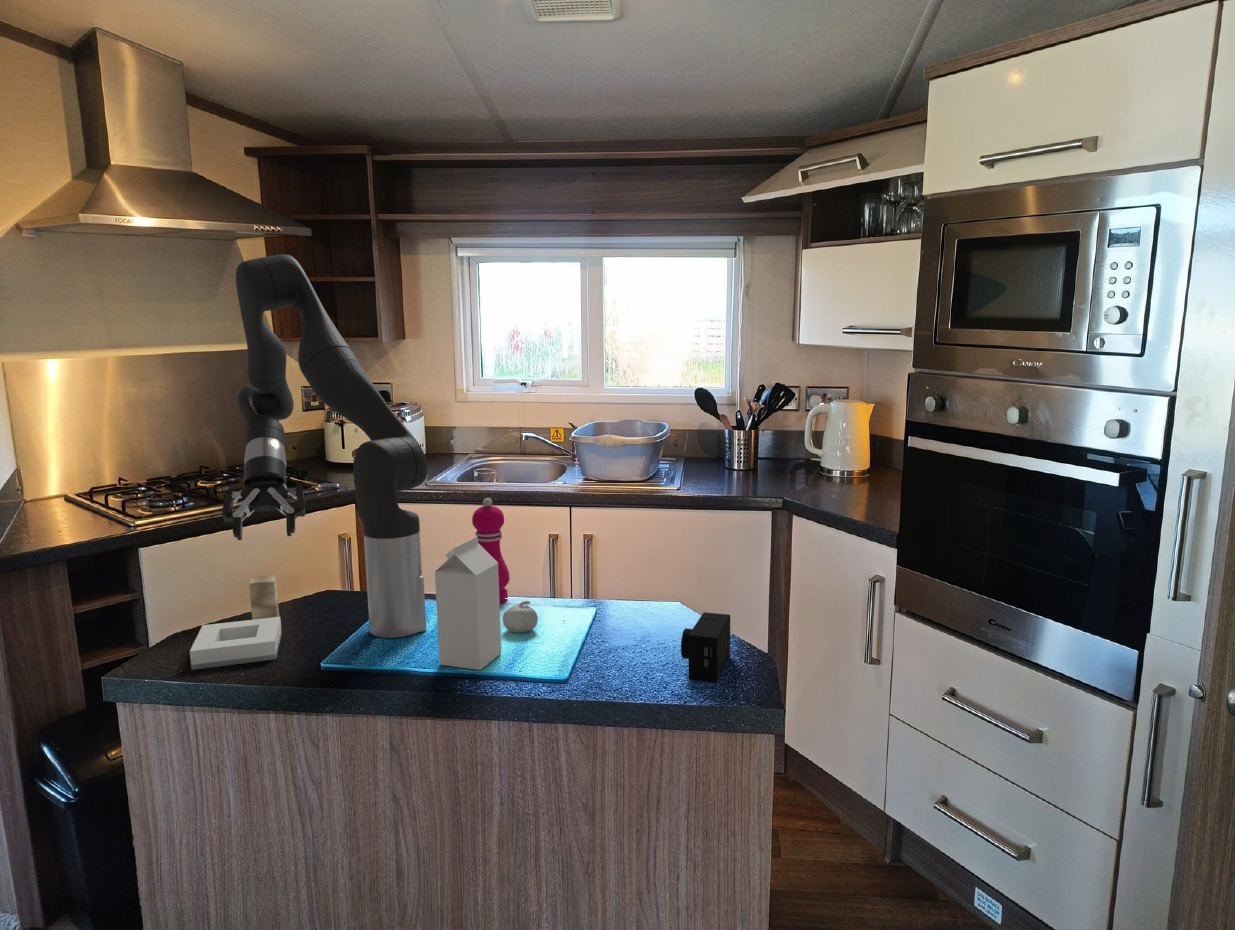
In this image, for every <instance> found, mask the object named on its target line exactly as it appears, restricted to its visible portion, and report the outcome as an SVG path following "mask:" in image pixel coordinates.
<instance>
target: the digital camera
mask: <svg viewBox="0 0 1235 930" xmlns="http://www.w3.org/2000/svg"><path fill="white" fill-rule="evenodd" d="M681 635H682V636H681V639H680V640H681V641H680V642H681V643H680V654H681V655H680V656H681V659H688V680H689V681H697V682H706V683H712V684H713V683H714V684H717V683H718V682H719V680H720V678H721V676H722V674H723V671H724V670H725V667H726V666H727V664H728V661H729V659H730V658H731V615H730V614H726V613H716V612H715V613H714V612H703V613H702V614H701V615H700V617H699V619H697V622H696V623H695V625H694V626H693V627H692V628H685V627H684V629H683V631H682V634H681Z"/></svg>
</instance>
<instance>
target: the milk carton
mask: <svg viewBox="0 0 1235 930" xmlns="http://www.w3.org/2000/svg"><path fill="white" fill-rule="evenodd" d="M445 556H446V557H447V560H446V561H445V562H444V563H442V564H441V565H440V566H439V567H438V568H437V569H436V570H435V571H434V580H435V581H434V582H435V600H436V601H435V602H436V619H437V620H436V621H437V622H436V623H437V642H438V663H439V665H440V666H446V667H447V666H448V667H454V668H461V669H468V670H469V669H470V670H476V671H481V670H482V669H483V668H485V667H486V666H488V665H489V664H490V663H491V662H492V661H494V660H495V659H496V658H498V657H499V656H500V655H501V654H502V637H501V636H502V634H501V633H502V632H501V609H500V607H501V606H500V605H501V604H500V602H499V575H498V562H497V561H496V560H495V559H494V558H493V557H492V556H491V555H490V554H489V553H488V552H487V551H486V550H485V549H484V548H483V547H482V546H481V545H480V544H479V543H478V536H476V535H475V536H474V537H472V538H470V539H468V540H465V541H464V542H461V543H459V544H458V545H455V546H453V548H452V549H451V550H449V551H448V552H447V553H446V554H445Z"/></svg>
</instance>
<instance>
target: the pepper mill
mask: <svg viewBox="0 0 1235 930" xmlns="http://www.w3.org/2000/svg"><path fill="white" fill-rule="evenodd" d="M482 505H483V506H480V507H478V508H477V509H475V510H474V512H473V514H472V518H471V522H472V526H473V527H474V528H475V530H476V531H475V532H474V534H475V537H476V536H478V543H479V544H480V545H481V546H482V547H483V548H484V549H485V550H486V551H487V552H488V553H489V554H490V555H491V556H492V557H493V558H494V559H495V560H496V561H497V562H498V575H499V602H500V605H502V604H503V603H504V604H505V602H507V601H508V599H509V597H508V595H509V594H508V589H507V588H506V586H507V585H508V584H509V583H510V572H509V568H508V566H507V563H506V561H505V560H504V557H503V555H502V552H501V540H502V539H503V535H502V533H503V531H502V529H501V528H502V527H503V526H504V523H505V517H504V516H505V515H504V512H503V511H502V510H501V509H500V508H499V507H497V506H495V505H493V500H492V499H491V498H490V497H486V498H484V499H483V501H482ZM505 598H508V599H505Z"/></svg>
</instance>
